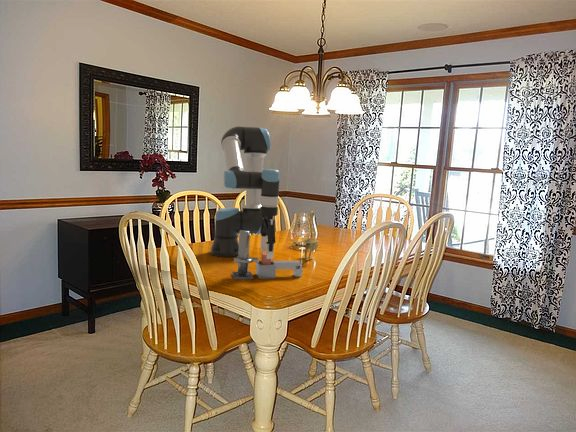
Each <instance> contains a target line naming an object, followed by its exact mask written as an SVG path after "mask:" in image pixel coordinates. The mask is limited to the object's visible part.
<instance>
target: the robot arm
mask: <svg viewBox="0 0 576 432" xmlns="http://www.w3.org/2000/svg"><path fill="white" fill-rule="evenodd" d="M220 141H221V142H220V144H221V145H220V146H221V149H222V151H223V152H224V159H225V165H226V166H225V167H226V170H225V171H224V173H223V186H224V188H227V189H235V190H236V189H245V204H244V206H243V207H242V210H240V209H239V208H238V207H225V208H220V209H217V210H216V212H215V216H214V239H213V242H212V244H211V247H210V255H212V256H215V257H221V258H222V257H223V258H234V257H238V253H239V231H240V230H248V231H250V235H251V234H252V235H253V234H254V235H258V234H260V251H261V252H266V253H267V259H271V260H274V254H275V253H274V248H275V244H276V229H275V222H276V220H275V219H273V217H276V216H278V211H279V208H278V205H279V201H280V199H281V198H280V197H279V192H280V179H281V176H280V170H278V169H275V168H274V169H273V168H272V169H271V168H264V163H265V162H264V159H265V157H266V156H267V155H268V154H267V153H268V152H270V151H271V136H270V133H269V130H268V129H267V128H264V127H251V126H240V125H239V126H233V127H231V128H230V129H228V130H227V131H226V132H224V134H223V136H222V138H221V140H220ZM241 151H243V154H244V156H245V157H246V170H245V167H244V163H243V158H242V152H241Z"/></svg>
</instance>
